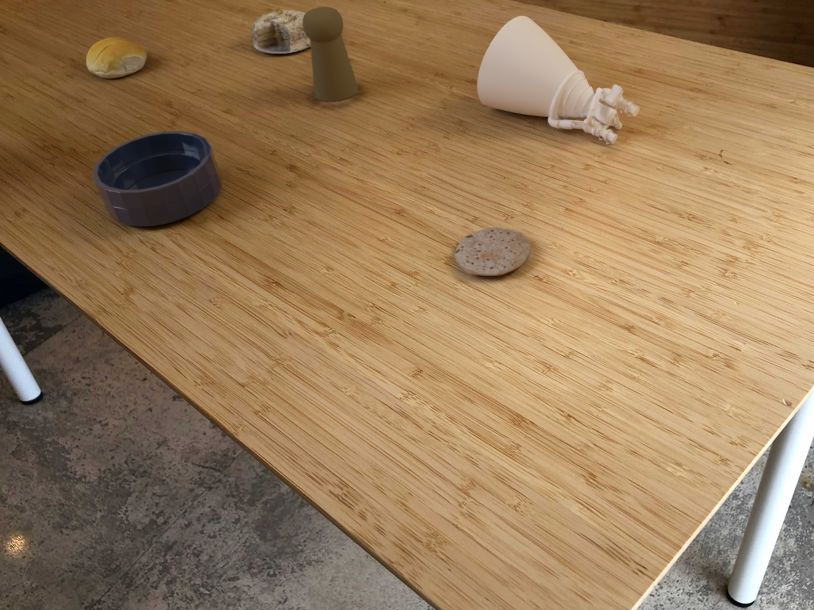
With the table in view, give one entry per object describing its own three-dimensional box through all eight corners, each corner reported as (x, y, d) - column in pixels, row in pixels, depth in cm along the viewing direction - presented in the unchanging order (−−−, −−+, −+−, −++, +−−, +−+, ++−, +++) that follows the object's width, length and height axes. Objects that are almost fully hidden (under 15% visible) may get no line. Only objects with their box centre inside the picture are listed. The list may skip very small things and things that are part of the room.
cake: (267, 32, 134) (260, -4, 131) (327, 33, 132) (322, -3, 129) (242, 54, 126) (234, 18, 123) (305, 56, 125) (299, 19, 121)
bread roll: (128, 50, 132) (119, 24, 129) (156, 65, 127) (147, 39, 124) (79, 69, 128) (68, 43, 125) (106, 85, 123) (96, 59, 120)
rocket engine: (647, 62, 93) (518, -2, 99) (590, 153, 94) (465, 84, 101) (661, 102, 104) (543, 41, 110) (609, 182, 105) (495, 118, 111)
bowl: (103, 239, 94) (85, 201, 91) (114, 178, 104) (99, 142, 100) (222, 218, 95) (209, 179, 92) (223, 159, 105) (211, 123, 101)
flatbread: (475, 226, 90) (474, 218, 89) (542, 240, 87) (541, 232, 86) (441, 271, 85) (440, 263, 84) (510, 288, 82) (510, 280, 81)
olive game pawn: (306, 99, 115) (288, 18, 107) (326, 79, 119) (310, 0, 111) (346, 103, 113) (330, 21, 106) (365, 82, 117) (351, 2, 110)
